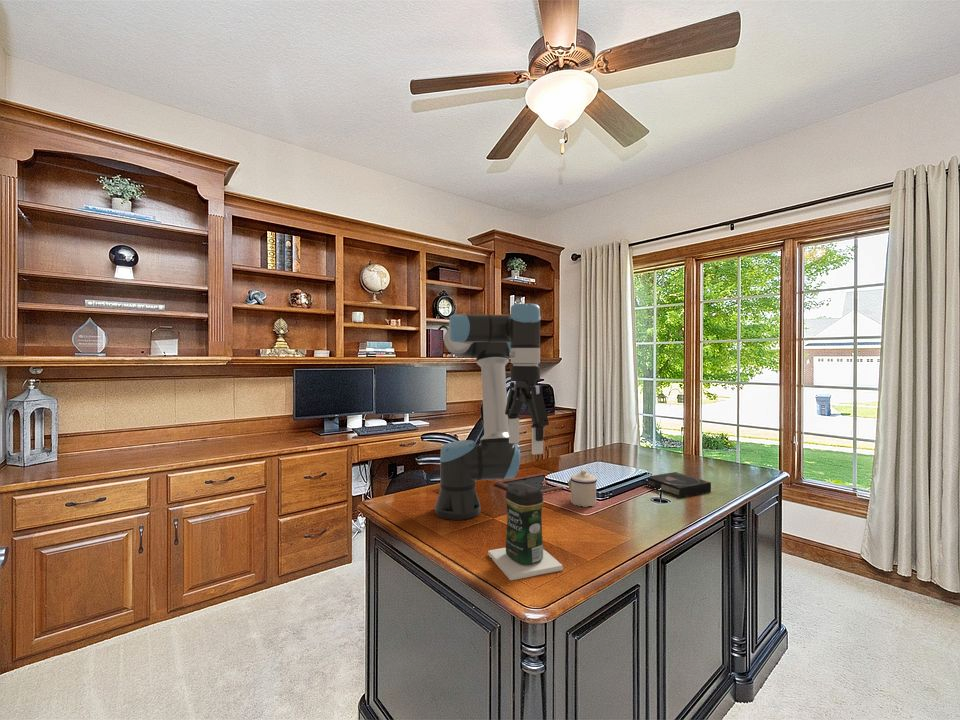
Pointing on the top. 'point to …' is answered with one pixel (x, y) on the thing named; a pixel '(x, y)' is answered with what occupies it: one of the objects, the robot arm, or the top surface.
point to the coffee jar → (524, 523)
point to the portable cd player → (679, 484)
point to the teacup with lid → (583, 489)
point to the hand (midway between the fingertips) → (525, 448)
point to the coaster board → (522, 571)
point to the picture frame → (529, 482)
